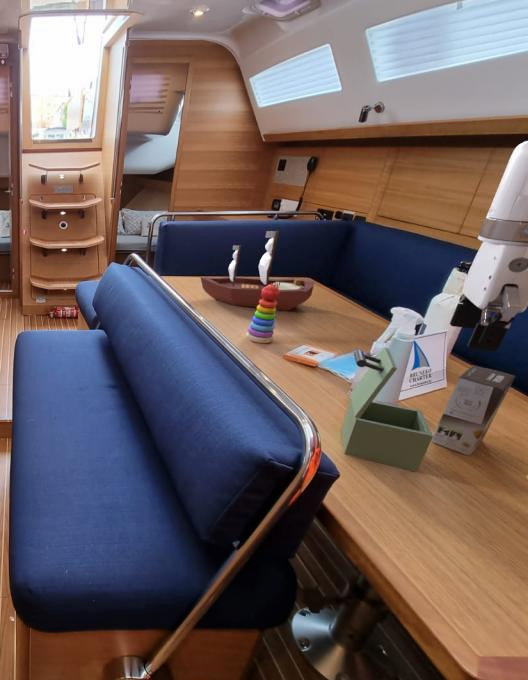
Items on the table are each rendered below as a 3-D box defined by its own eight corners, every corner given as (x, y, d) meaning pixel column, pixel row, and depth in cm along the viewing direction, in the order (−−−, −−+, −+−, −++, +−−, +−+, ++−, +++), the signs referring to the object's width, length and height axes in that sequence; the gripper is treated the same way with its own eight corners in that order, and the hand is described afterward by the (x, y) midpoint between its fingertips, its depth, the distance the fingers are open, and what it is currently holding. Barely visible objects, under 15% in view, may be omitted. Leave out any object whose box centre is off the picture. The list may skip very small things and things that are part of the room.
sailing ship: (309, 316, 155) (330, 236, 143) (195, 304, 173) (205, 232, 161) (305, 301, 169) (323, 228, 157) (199, 291, 187) (208, 225, 175)
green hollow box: (407, 444, 89) (421, 410, 86) (416, 472, 82) (433, 436, 78) (340, 429, 95) (351, 396, 91) (344, 454, 88) (356, 419, 84)
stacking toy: (258, 345, 135) (270, 290, 128) (240, 336, 142) (250, 283, 135) (278, 341, 137) (291, 287, 129) (259, 332, 144) (270, 280, 136)
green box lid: (388, 348, 85) (359, 338, 87) (397, 368, 77) (365, 357, 79) (354, 395, 91) (327, 385, 93) (359, 418, 84) (329, 407, 86)
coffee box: (470, 457, 85) (504, 390, 78) (429, 441, 90) (458, 377, 83) (483, 440, 89) (516, 375, 83) (443, 426, 94) (472, 363, 88)
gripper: (589, 244, 52) (527, 364, 59) (530, 222, 66) (485, 322, 73) (504, 241, 56) (455, 354, 63) (464, 221, 69) (427, 316, 76)
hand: (471, 337), depth 68 cm, fingers open, 9 cm apart
